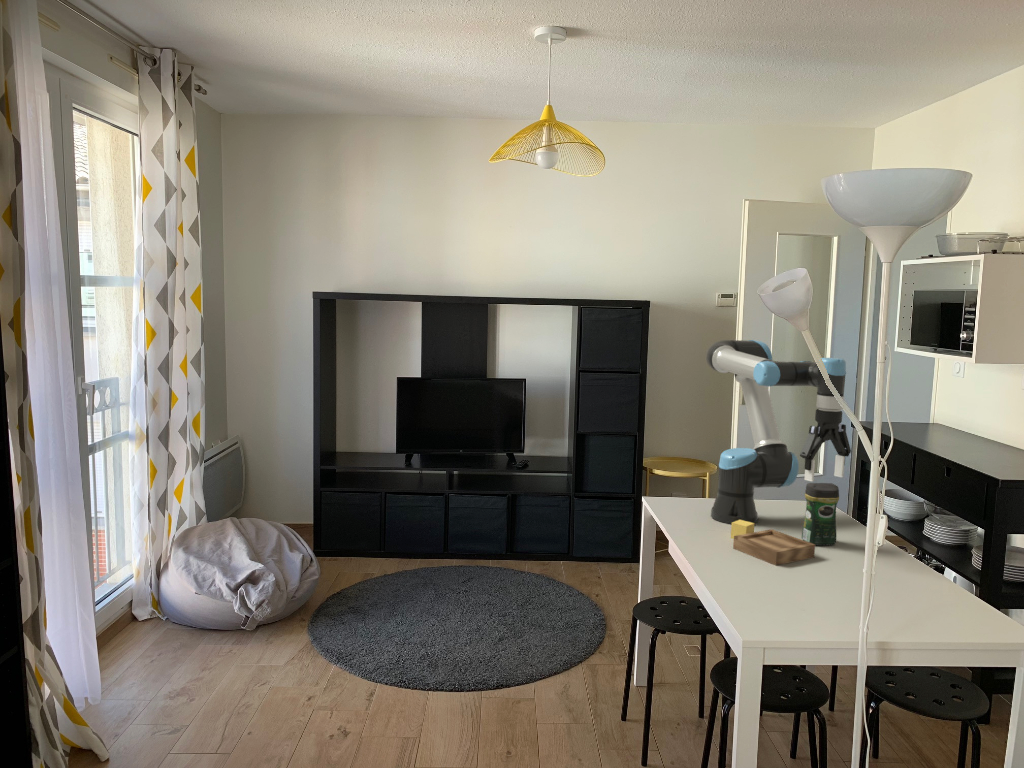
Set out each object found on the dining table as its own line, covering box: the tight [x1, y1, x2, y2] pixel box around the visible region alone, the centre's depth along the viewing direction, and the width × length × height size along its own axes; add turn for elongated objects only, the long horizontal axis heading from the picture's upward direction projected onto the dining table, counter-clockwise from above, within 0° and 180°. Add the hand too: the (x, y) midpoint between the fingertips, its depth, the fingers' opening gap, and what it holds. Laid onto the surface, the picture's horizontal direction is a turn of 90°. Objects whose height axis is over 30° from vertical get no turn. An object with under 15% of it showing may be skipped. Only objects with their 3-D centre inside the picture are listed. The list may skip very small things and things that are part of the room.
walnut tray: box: [732, 528, 816, 566], centre depth 231 cm, size 16×16×4 cm
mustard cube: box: [730, 520, 756, 540], centre depth 244 cm, size 5×5×5 cm
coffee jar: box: [801, 482, 840, 546], centre depth 241 cm, size 10×8×19 cm
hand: (823, 478), depth 240 cm, fingers open, 13 cm apart
